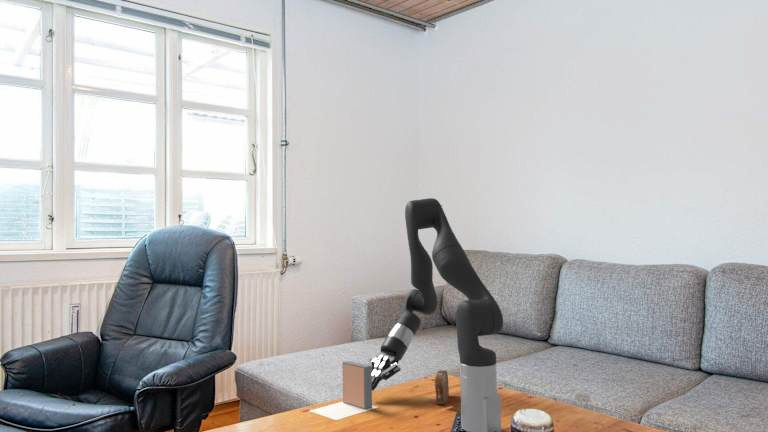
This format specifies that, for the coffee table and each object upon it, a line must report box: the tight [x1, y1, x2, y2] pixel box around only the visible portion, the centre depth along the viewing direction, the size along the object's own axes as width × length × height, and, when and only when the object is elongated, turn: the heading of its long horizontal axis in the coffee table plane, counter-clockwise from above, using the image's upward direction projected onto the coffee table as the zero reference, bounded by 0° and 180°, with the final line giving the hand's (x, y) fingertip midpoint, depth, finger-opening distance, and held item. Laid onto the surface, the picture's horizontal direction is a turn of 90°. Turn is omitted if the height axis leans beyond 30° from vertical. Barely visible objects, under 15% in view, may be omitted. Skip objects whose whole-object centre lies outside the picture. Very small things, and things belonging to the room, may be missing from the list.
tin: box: [434, 369, 450, 405], centre depth 169 cm, size 15×3×8 cm, turn 168°
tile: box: [342, 360, 373, 410], centre depth 164 cm, size 10×3×12 cm, turn 44°
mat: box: [309, 401, 379, 421], centre depth 160 cm, size 12×16×1 cm
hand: (369, 388), depth 167 cm, fingers closed
